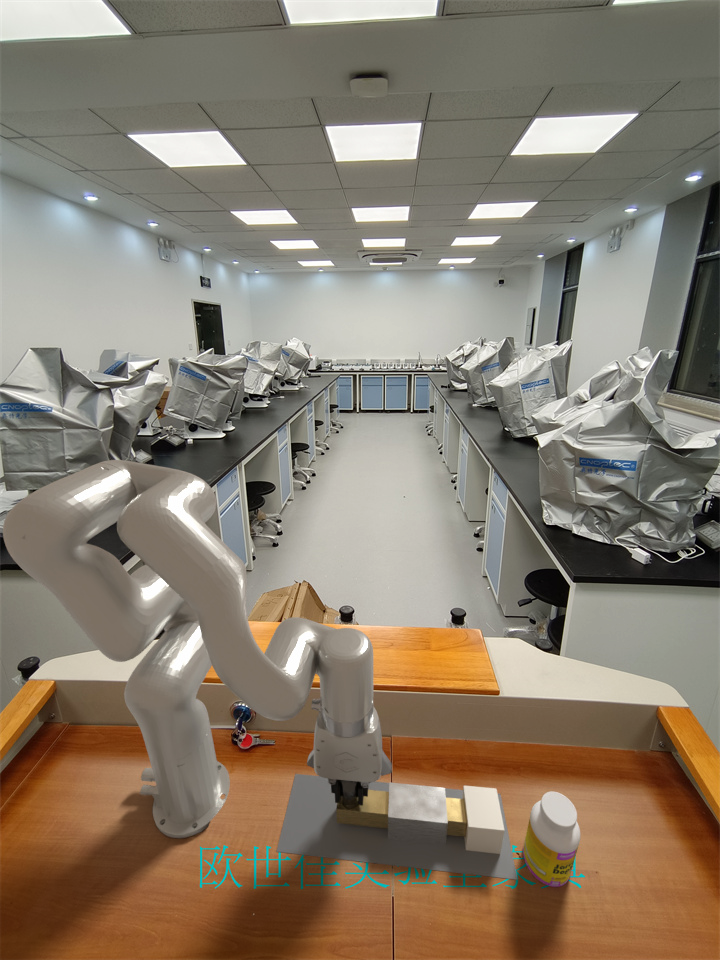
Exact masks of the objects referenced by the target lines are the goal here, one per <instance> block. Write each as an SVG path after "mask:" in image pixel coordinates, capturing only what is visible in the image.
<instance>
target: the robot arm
mask: <svg viewBox="0 0 720 960" xmlns="http://www.w3.org/2000/svg"><path fill="white" fill-rule="evenodd" d="M216 508H217V497H216V494H215V492H214V490H213V488H212V487H211V486H210V484H208V483H207V482H206V481H205V479H202V478H201V477H199V476H197V475H196V474H193V473H190V472H187V471H183V470H181V469H176V468H171V467H166V466H159V465H154V464H149V463H148V464H147V463H143V462H138V461H137V462H136V461H131V460H124V459H111V460H104V461H101V462H98V463H96V464H93V465H91V466H88V467H86V468H84V469H81V470H78V471H77V472H74V473H72V474H69V475H67V476H65V477H62V478H59V479H57V480H55V481H52V482H51V483H48V484H47V485H44V486H41V487H40V488H38V489H37V490H35V491H33V492H31V493H30V494H28V495H27V496H25V497H24V498H22V499H21V500H19V502H16V504H15V505H13V507H12V508H11V509H10V510H9V512H8V513H7V514H6V517H5V518H4V520H3V526H2V527H3V528H2V536H3V541H4V544H5V547H6V550H7V552H8V554H9V555H10V557H11V558H12V560H13V561H14V562H15V563H16V564H17V565H18V566H19V567H20V569H22V571H24V572H25V574H26V575H27V574H28V575H29V576H30V577H31V578H32V579H34V580H35V581H36V582H38V583H39V584H40V585H42V586H43V587H44V588H46V589H47V590H48V591H49V592H50V593H51V594H52V595H53V596H54V597H55V598H56V599H57V601H58V602H59V603H60V604H61V606H62V607H63V608H64V609H65V611H66V612H67V613H68V614H69V616H70V617H71V618H72V619H73V621H74V622H75V623H76V624H77V625H78V627H79V628H80V629H81V630H82V632H83V633H84V634H85V635H86V637H87V638H88V639H89V640H90V641H91V643H92V644H93V645H94V646H95V648H96V649H97V650H98V651H99V652H100V653H101V654H102V655H104V656H105V657H107V658H108V659H109V660H112V661H113V662H117V663H118V662H119V663H124V662H127V661H131V660H133V659H135V658H136V657H137V656H139V655H141V654H142V653H143V652H144V651H145V650H146V649H147V648H148V647H149V646H150V645H151V644H152V642H154V641H155V639H156V638H157V637H158V636H159V635H160V633H162V631H164V633H163V634H162V635H161V637H160V638H158V640H157V641H156V642H155V643H154V644H153V645H152V646H151V648H149V650H148V651H147V652H146V654H145V655H144V656H143V658H142V659H141V660H140V661H139V663H138V664H137V666H136V667H135V668H134V669H133V671H132V672H131V674H130V676H129V678H128V680H127V682H126V685H125V688H124V695H123V697H124V701H125V705H126V707H127V708H128V710H129V712H130V713H131V715H132V717H134V719H135V722H136V724H137V725H138V727H139V729H140V732H141V734H142V738H143V741H144V744H145V748H146V751H147V752H146V753H147V755H148V760H149V763H150V767H145V768H144V769H143V770H142V773H141V776H140V780H141V781H142V782H150V783H153V782H155V785H150V784H142V786H141V788H140V791H139V792H140V793H139V794H140V795H143V796H152V798H153V799H154V800H153V805H152V817H153V820H154V822H155V823H154V824H155V826H156V828H157V829H158V831H159V832H161V833H162V834H163V835H165V836H167V837H169V838H174V839H175V838H176V839H184V838H188V837H191V836H195V835H196V834H199V833H201V832H203V831H204V830H205V829H207V828H208V827H209V826H210V823H211V821H212V820H213V819H214V818H215V816H217V815H218V813H219V812H220V810H221V809H222V808H223V807H224V805H225V803H226V801H227V798H228V797H229V796H228V795H229V793H230V787H231V786H230V785H231V784H230V783H231V781H230V775H229V771H228V769H227V767H226V766H225V765H223V764H222V762H219V761H218V760H217V754H216V750H215V744H214V738H213V734H212V728H211V723H210V718H209V713H208V710H207V707H206V705H205V703H204V702H202V701H201V700H200V699H199V698H197V695H198V692H199V689H200V687H201V685H202V683H203V682H204V680H205V679H206V677H207V674H208V673H209V671H210V670H211V668H213V670H214V671H215V674H216V676H217V678H219V679H220V681H221V682H222V683H223V684H224V686H225V687H226V688H227V689H228V690H229V691H230V692H231V693H233V694H234V695H235V696H236V697H237V698H238V699H239V700H240V701H242V703H244V704H245V705H246V706H248V707H249V708H250V709H252V711H254V712H255V713H257V714H258V715H260V716H261V717H264V718H266V719H268V720H272V721H279V722H281V721H282V722H283V721H287V720H291V719H293V718H295V717H296V716H297V715H299V713H300V712H301V711H302V710H303V709H304V707H305V706H306V703H307V701H308V698H309V695H310V692H311V690H312V686H313V683H314V679H315V676H316V675H317V676H318V678H319V689H320V697H319V698H317V699H316V698H312V700H311V708H310V709H311V710H315V711H316V712H317V711H318V715H317V717H316V720H315V721H316V722H315V726H314V734H313V749H312V750H311V751H310V753H309V755H308V757H307V762H306V766H308V767H310V768H312V769H313V770H314V773H315V774H316V776H320V777H323V778H328V783H329V784H331V793H335V803H339V802H340V798H341V788H340V780H347V781H358V782H359V784H358V804H359V805H362V806H363V798H364V796H366V797H368V787H369V783H371V782H374V781H375V782H378V781H379V780H380V779H381V777H382V776H383V777H384V776H386V775H390V774H392V772H393V763H392V762H391V760H390V759H389V758H388V756H387V755H386V753H385V752H384V750H383V737H382V728H381V721H380V718H379V714H378V711H377V710H376V708H375V706H374V647H373V644H372V643H373V642H372V641H371V640H370V638H369V637H368V636H367V634H366V633H364V632H363V631H361V630H360V629H356V628H352V627H341V628H335V627H331V626H329V625H325V624H322V623H319V622H316V621H313V620H311V619H308V618H303V617H297V616H296V617H294V616H293V617H288V618H285V619H284V620H283V621H281V622H280V623H279V624H278V625H277V627H276V629H275V631H274V632H273V634H272V637H271V639H270V641H269V644H268V645H267V647H266V649H265V652H264V651H263V650H262V649H261V648H260V646H259V644H258V643H257V641H256V639H255V637H254V635H253V632H252V630H251V627H250V624H249V623H250V622H249V617H248V610H247V585H248V582H247V581H248V580H247V578H248V577H247V567H246V564H245V562H244V560H242V559H241V557H239V556H238V555H237V554H236V553H235V552H234V551H233V550H232V549H231V548H230V547H229V546H228V545H227V544H226V543H225V542H224V541H223V540H222V539H221V538H220V537H219V536H218V535H216V533H215V532H214V531H213V530H212V529H211V528H210V527H209V526H208V525H207V524H206V523H207V522H208V521H209V520H210V519H211V518H212V516H213V515H214V513H215V512H216ZM115 523H116V531H117V534H118V536H119V539H120V540H121V541H122V542H123V543H124V545H125V546H126V547H127V548H128V549H130V551H131V552H133V554H134V555H136V556H137V558H139V559H140V560H141V561H142V562H143V563H144V565H142V566H140V567H139V568H137V569H136V570H134V571H133V572H132V573H131V574H129V573H128V571H127V570H126V569H125V567H124V565H123V564H122V562H120V560H119V559H118V558H117V557H116V556H115V555H114V554H112V553H111V552H109V551H108V550H105V549H103V548H101V547H99V546H97V545H93V544H91V543H88V541H90V540H91V539H92V538H94V537H95V536H96V535H98V534H99V533H101V532H103V531H104V530H106V529H107V528H109V527H110V526H112V525H114V524H115ZM222 795H225V796H224V797H223V798H221V796H222Z"/></svg>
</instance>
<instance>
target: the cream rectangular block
mask: <svg viewBox="0 0 720 960" xmlns="http://www.w3.org/2000/svg"><path fill="white" fill-rule="evenodd" d="M462 787H463V788H462V790H463V795H462V799H464V800H465V808H466V817H467V831H466V837H464V839H465V848H466V850H469V851H478V852H487V853H496V854H501V848H502V842H503V836H504V831H505V830H504V825H503V820H502V815H501V809H500V804H499V799H498V794H497V793H498V790H497V788H496V787H495V788H494V787H483V786H474V785H473V786H472V785H463V786H462Z"/></svg>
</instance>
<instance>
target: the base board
mask: <svg viewBox="0 0 720 960" xmlns="http://www.w3.org/2000/svg"><path fill="white" fill-rule="evenodd" d="M444 788H445V795H446V798H456V799H462V795H463V789H454V788H447V787H444ZM368 790H376V791H386V792H389V782H384V781H374V782H371V783H369V787H368ZM289 794H290V795H289V799H288V803H287V808H286V811H285V816H284V820H283V822H282V823H283V824H282V827H281V830H280V834H279V840H278V842H277V843H278V844H277V847H276V853H285V854H293V855H301V856H310V857H317V858H327V859H336V860H342V861H343V860H344V861H352V862H362V863H370V864H371V863H372V864H377V865H378V864H379V865H387V866H395V867H397V866H398V867H404V868H412V869H419V870H420V869H422V870H430V871H438V872H440V871H441V872H446V873H457V874H464V875H471V876H473V875H474V876H481V877H488V878H490V877H491V878H498V879H507V880H515V881H518V876H517V870H516V865H515V861H514V857H513V850H512V845H511V840H510V835H509V830H508V825H507V820H506V819H507V818H506V816H505V810H504V805H503V799H502V796H501V793H500V792H499V793H498V792H497V794H498V799H499V804H500V809H501V815H502V820H503V825H504V830H505V831H504V836H503V842H502V848H501V854H496V853H487V852H478V851H469V850H466V848H465V839H464V837H462V836H453V835H447V837H446V845H441V844H432V843H423V842H414V841H405V840H396V839H388V828H379V827H369V826H360V825H351V824H342V823H337V812H336V808H337V803H335V793H331V784H329V783H328V778H323V777H320V776H318V775H311V774H302V773H295V774H294V779H293V782H292V787H291V791H290V793H289Z"/></svg>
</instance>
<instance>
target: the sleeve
mask: <svg viewBox="0 0 720 960" xmlns="http://www.w3.org/2000/svg"><path fill="white" fill-rule="evenodd" d="M388 783H389V808H388V839H396V840H405V841H414V842H423V843H432V844H441V845H446V837H447V827H448V819H447V807H446V795H445V788H446V787H440V786H439V787H438V786H431V785H430V786H428V785H418V784H408V783H398V782H388Z"/></svg>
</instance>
